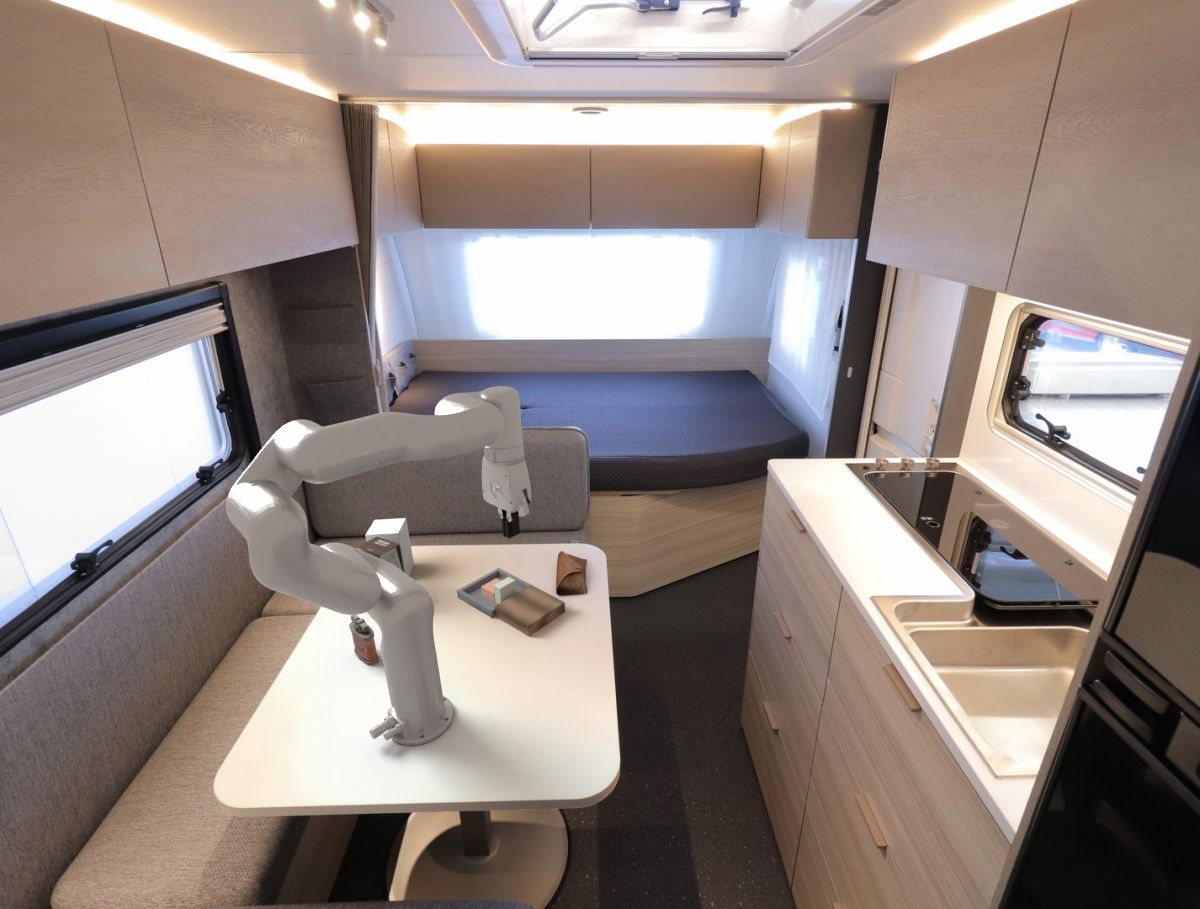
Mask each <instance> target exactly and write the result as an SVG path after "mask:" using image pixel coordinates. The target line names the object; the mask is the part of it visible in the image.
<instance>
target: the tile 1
mask: <svg viewBox="0 0 1200 909" xmlns="http://www.w3.org/2000/svg"><path fill="white" fill-rule="evenodd" d="M498 582H500V580H499V579H497V578H496V579H494V580H492V581H490V582H488V583H487V584H485V585H483V586H481V590H482V595H483V596H485V597H487V598H488V599H490V600H492V601H494V602H495V596H494V587H493V585H495V584H497V583H498Z"/></svg>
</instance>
